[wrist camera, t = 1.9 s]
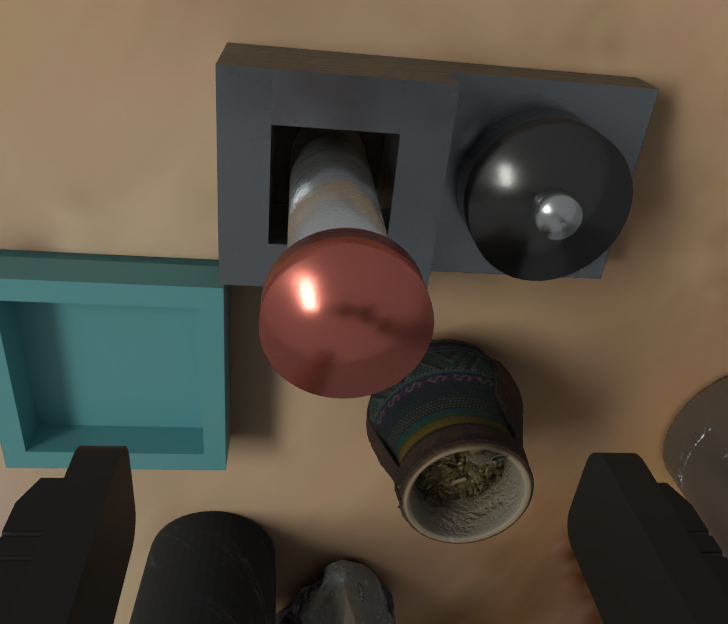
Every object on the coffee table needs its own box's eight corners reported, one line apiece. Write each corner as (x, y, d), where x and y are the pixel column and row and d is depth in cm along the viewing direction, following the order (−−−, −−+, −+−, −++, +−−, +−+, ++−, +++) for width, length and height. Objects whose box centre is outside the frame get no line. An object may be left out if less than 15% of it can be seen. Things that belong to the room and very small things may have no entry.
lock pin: (384, 106, 27) (446, 254, 15) (373, 206, 29) (421, 400, 17) (277, 98, 26) (259, 244, 15) (274, 200, 28) (257, 396, 17)
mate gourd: (366, 443, 36) (385, 610, 27) (355, 321, 32) (374, 470, 23) (501, 429, 36) (564, 591, 27) (507, 306, 32) (581, 448, 23)
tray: (229, 260, 29) (223, 288, 27) (230, 435, 35) (225, 470, 32) (-13, 248, 28) (-39, 276, 26) (25, 431, 33) (6, 467, 31)
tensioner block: (636, 77, 27) (706, 113, 22) (584, 258, 31) (633, 320, 26) (227, 42, 25) (210, 73, 20) (228, 239, 29) (215, 303, 24)
